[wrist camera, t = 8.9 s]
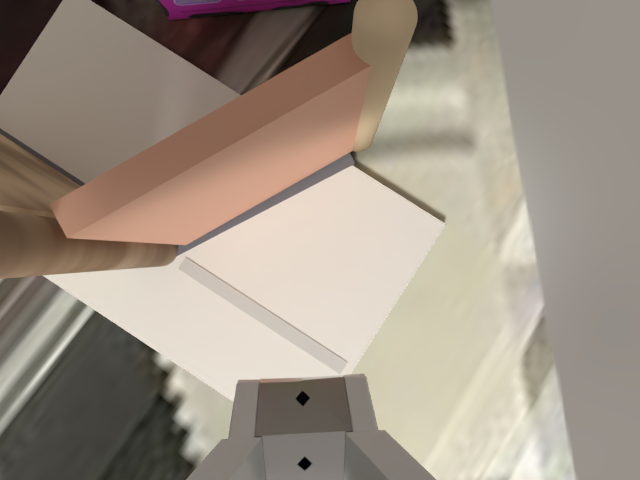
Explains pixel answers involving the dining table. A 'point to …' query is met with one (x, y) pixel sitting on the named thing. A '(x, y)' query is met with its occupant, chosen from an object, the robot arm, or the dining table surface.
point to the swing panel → (251, 141)
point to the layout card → (226, 240)
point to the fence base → (54, 226)
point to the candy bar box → (229, 6)
